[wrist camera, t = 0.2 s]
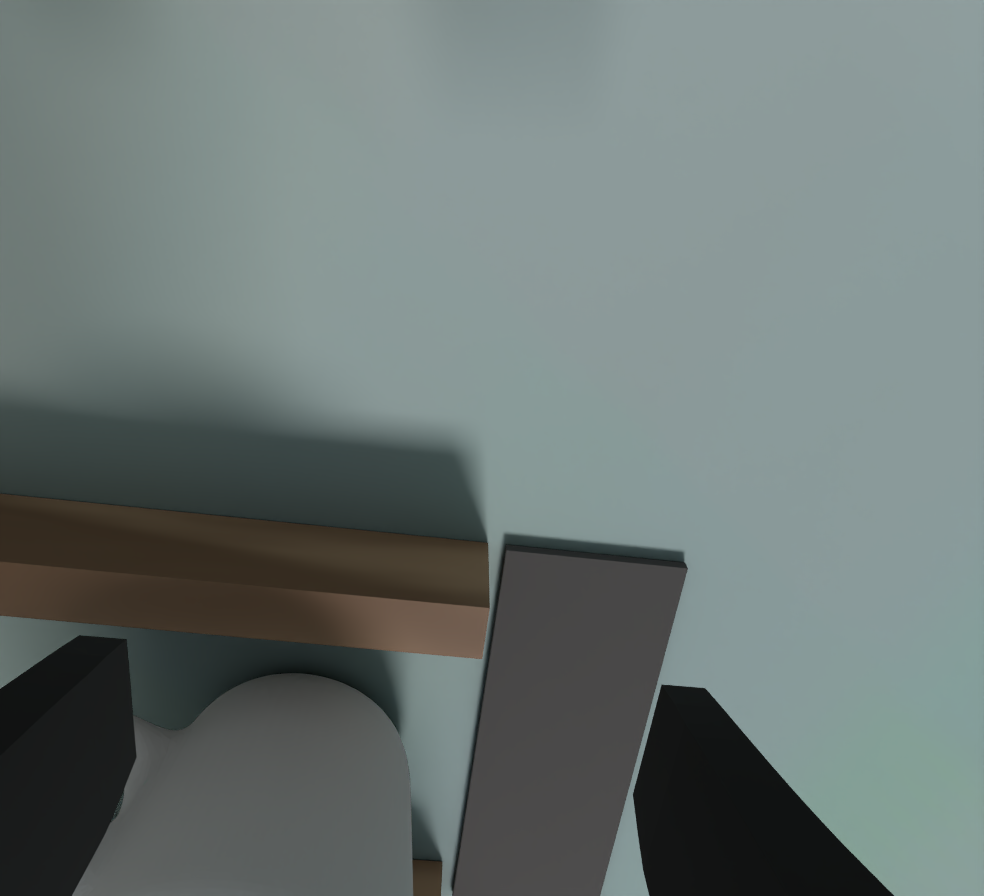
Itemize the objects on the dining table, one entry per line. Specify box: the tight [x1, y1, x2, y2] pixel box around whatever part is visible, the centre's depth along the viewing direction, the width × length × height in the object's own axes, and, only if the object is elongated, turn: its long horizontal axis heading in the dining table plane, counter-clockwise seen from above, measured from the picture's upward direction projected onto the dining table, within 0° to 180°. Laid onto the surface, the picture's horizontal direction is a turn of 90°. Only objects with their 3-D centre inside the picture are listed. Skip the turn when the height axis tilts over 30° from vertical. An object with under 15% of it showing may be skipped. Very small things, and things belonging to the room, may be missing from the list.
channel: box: [0, 494, 490, 896], centre depth 21 cm, size 14×14×3 cm
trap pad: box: [452, 545, 688, 896], centre depth 23 cm, size 14×5×1 cm, turn 173°
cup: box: [72, 673, 413, 896], centre depth 19 cm, size 11×8×8 cm
